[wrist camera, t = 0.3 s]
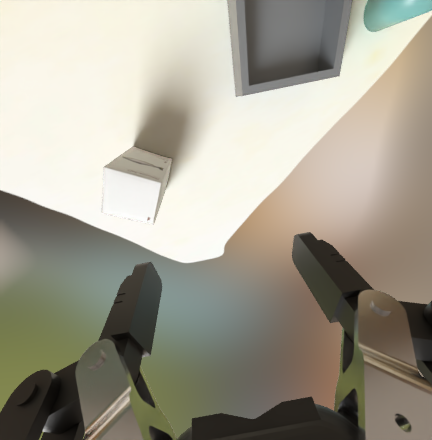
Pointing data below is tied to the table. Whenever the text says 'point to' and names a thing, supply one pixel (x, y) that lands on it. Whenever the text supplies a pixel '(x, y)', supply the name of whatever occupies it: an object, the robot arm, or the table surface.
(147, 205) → the supplement box
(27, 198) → the table surface
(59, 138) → the table surface
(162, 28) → the table surface
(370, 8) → the cylinder
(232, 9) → the tote
